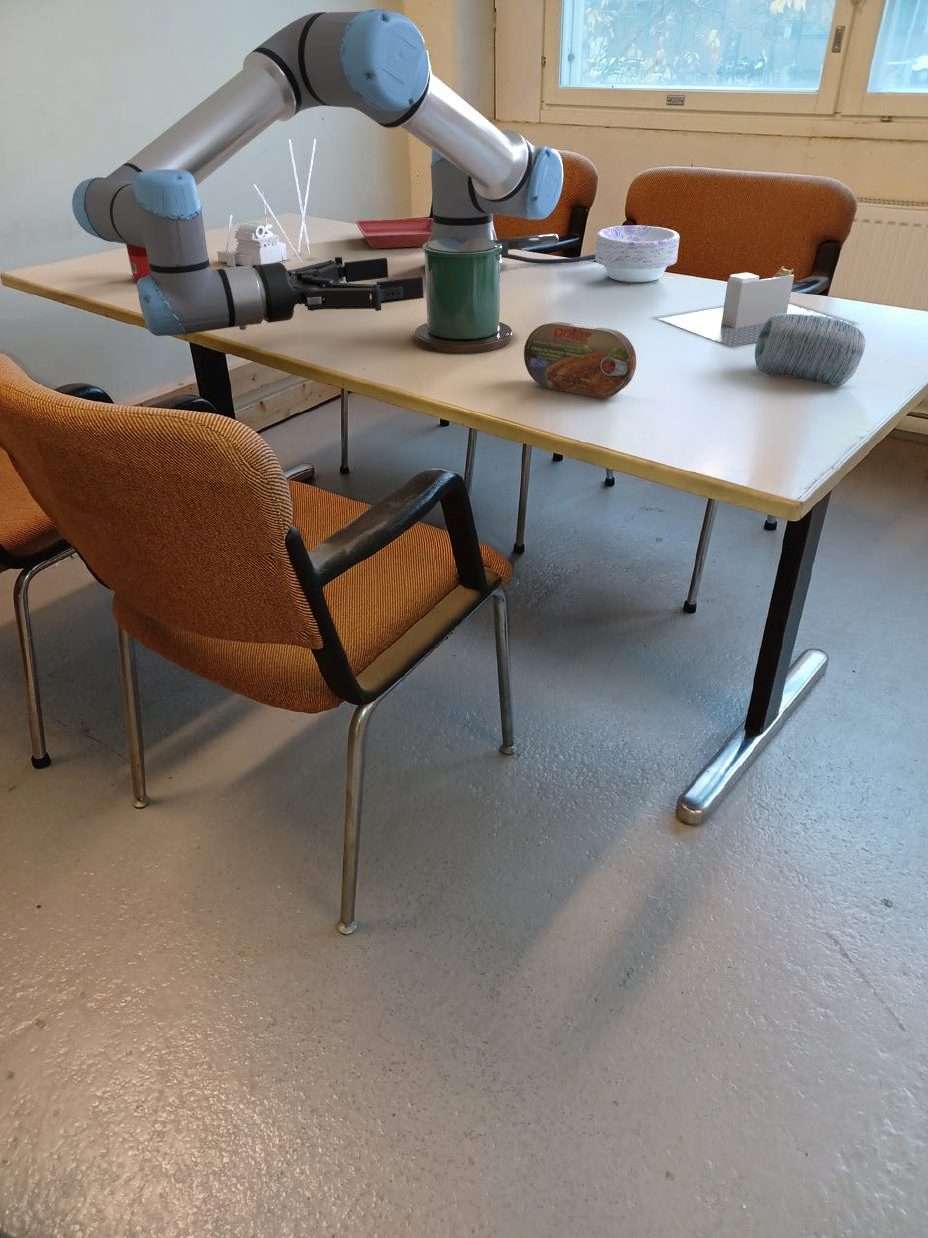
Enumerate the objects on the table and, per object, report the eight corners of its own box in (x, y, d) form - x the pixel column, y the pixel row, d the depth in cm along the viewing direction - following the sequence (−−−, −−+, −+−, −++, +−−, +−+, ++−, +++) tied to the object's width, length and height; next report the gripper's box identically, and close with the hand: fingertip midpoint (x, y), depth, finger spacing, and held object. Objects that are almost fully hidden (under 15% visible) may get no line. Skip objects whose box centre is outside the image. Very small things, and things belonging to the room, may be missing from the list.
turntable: (482, 320, 144) (482, 312, 143) (530, 343, 133) (531, 335, 132) (398, 333, 138) (398, 325, 137) (442, 359, 127) (441, 350, 126)
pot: (443, 343, 128) (441, 254, 121) (414, 324, 137) (410, 239, 130) (572, 325, 136) (577, 239, 129) (537, 307, 144) (539, 226, 137)
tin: (521, 383, 118) (523, 319, 113) (533, 377, 120) (535, 313, 116) (626, 404, 111) (632, 336, 107) (635, 396, 114) (642, 330, 109)
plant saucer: (432, 231, 207) (432, 216, 205) (447, 247, 192) (447, 230, 190) (355, 236, 204) (354, 220, 202) (365, 251, 189) (364, 235, 187)
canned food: (164, 284, 167) (152, 221, 161) (125, 282, 168) (112, 220, 162) (183, 275, 173) (172, 214, 167) (145, 273, 174) (133, 213, 168)
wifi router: (265, 242, 198) (251, 130, 186) (339, 254, 187) (329, 135, 175) (176, 263, 182) (154, 141, 169) (251, 277, 171) (233, 147, 158)
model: (721, 323, 141) (728, 272, 137) (771, 314, 145) (780, 264, 141) (735, 328, 139) (743, 276, 134) (785, 318, 143) (795, 268, 138)
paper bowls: (639, 291, 159) (644, 243, 154) (577, 276, 168) (579, 232, 164) (691, 277, 167) (697, 232, 163) (629, 264, 177) (632, 221, 172)
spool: (733, 353, 117) (777, 282, 114) (752, 368, 125) (794, 302, 122) (822, 401, 111) (871, 327, 108) (837, 413, 119) (883, 346, 116)
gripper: (241, 301, 132) (375, 285, 139) (287, 346, 113) (439, 324, 120) (233, 248, 127) (371, 234, 135) (280, 285, 109) (437, 266, 116)
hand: (404, 276), depth 127 cm, fingers open, 13 cm apart
